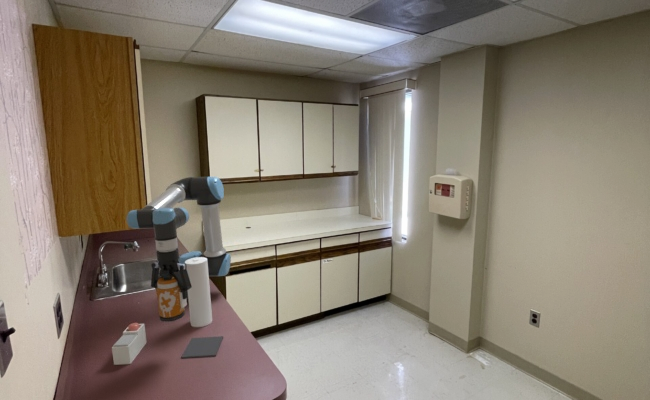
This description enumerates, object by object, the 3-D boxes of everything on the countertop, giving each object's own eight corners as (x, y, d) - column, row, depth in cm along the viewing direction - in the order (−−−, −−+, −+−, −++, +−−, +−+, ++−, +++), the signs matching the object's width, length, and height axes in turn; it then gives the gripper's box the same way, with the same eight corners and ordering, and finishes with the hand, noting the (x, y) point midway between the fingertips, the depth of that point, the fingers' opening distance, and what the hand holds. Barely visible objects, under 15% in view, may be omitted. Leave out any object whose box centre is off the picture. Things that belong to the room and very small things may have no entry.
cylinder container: (205, 328, 154) (199, 263, 149) (186, 326, 156) (180, 262, 151) (216, 317, 163) (211, 256, 158) (198, 316, 165) (192, 255, 160)
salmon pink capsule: (133, 341, 142) (131, 322, 140) (142, 340, 142) (140, 322, 141) (128, 346, 138) (126, 327, 137) (138, 345, 138) (135, 327, 137)
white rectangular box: (132, 343, 143) (129, 324, 142) (147, 342, 143) (144, 323, 142) (114, 364, 129) (111, 343, 128) (130, 363, 130) (128, 342, 128)
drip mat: (191, 339, 145) (191, 338, 145) (223, 337, 146) (223, 336, 146) (181, 358, 132) (181, 356, 132) (215, 356, 133) (215, 354, 133)
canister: (156, 324, 129) (150, 273, 125) (166, 310, 140) (161, 262, 136) (180, 322, 130) (175, 271, 126) (189, 308, 140) (184, 261, 137)
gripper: (135, 250, 129) (142, 307, 133) (186, 254, 124) (191, 312, 128) (150, 244, 136) (156, 298, 140) (198, 247, 131) (203, 303, 135)
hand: (173, 305), depth 134 cm, fingers closed on canister, 9 cm apart
